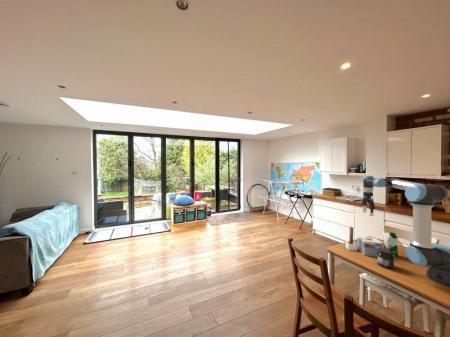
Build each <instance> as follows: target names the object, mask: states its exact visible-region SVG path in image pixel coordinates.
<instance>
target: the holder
mask: <svg viewBox="0 0 450 337" xmlns="http://www.w3.org/2000/svg"><path fill="white" fill-rule="evenodd" d="M349 242H350V241H345V248H346V249H347V250H349V251H358V248H357V243H355V241H353V244H349Z"/></svg>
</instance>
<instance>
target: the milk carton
mask: <svg viewBox="0 0 450 337" xmlns="http://www.w3.org/2000/svg"><path fill="white" fill-rule="evenodd" d="M382 237H383V248H386V249H389V250H392V251H393V252H394V256H395V258H399V252H398V251H399V248H398V247H399V238H400V236H399V235H397V234H396V233H395V232H392V231H390V232H382Z"/></svg>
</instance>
